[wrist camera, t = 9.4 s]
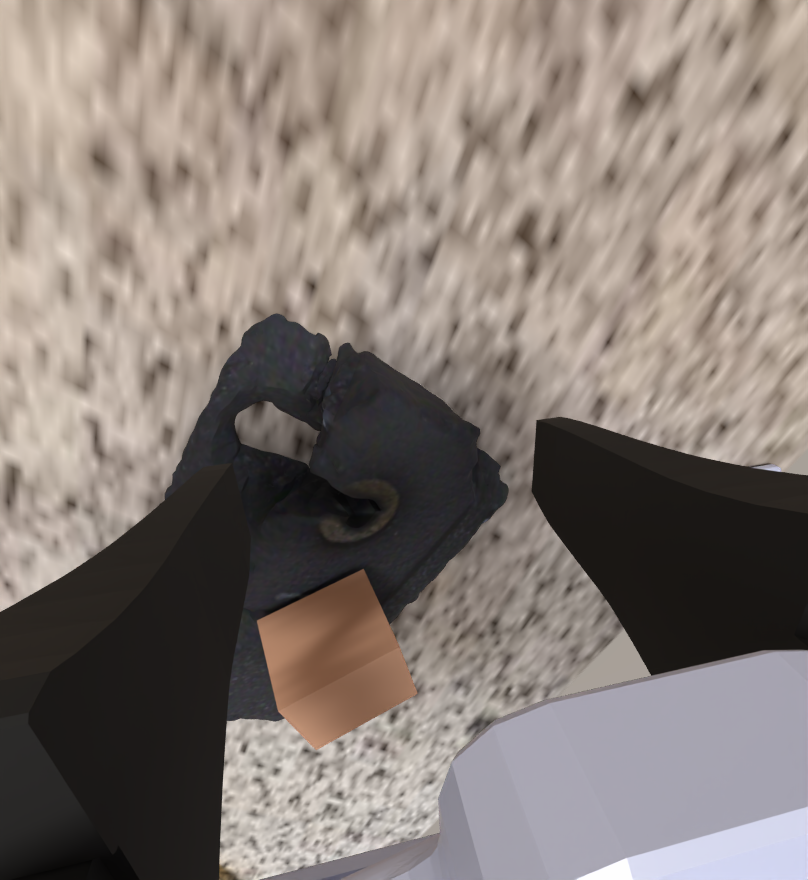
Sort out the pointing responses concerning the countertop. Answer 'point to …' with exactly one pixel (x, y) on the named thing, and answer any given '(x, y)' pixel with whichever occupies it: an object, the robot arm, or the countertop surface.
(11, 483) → the countertop surface
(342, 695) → the terracotta block
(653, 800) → the robot arm
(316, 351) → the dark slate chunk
